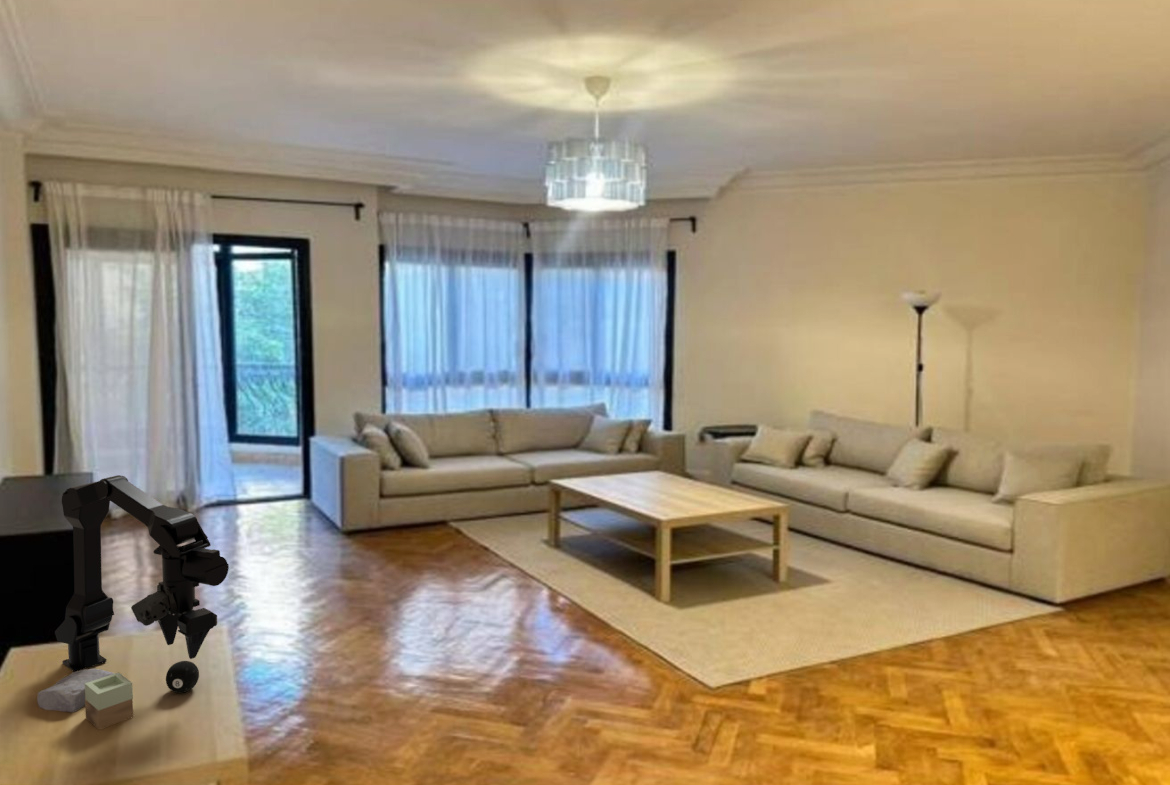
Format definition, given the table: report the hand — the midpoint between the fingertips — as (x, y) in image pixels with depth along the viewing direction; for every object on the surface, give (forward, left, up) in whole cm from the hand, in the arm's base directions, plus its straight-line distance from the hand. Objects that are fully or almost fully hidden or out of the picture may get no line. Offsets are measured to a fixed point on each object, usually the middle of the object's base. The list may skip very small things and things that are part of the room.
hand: (181, 651), depth 167 cm
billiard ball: (0, 0, -9) cm, 9 cm away
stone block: (-13, -15, -9) cm, 22 cm away
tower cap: (0, -14, -5) cm, 15 cm away
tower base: (0, -14, -9) cm, 16 cm away
